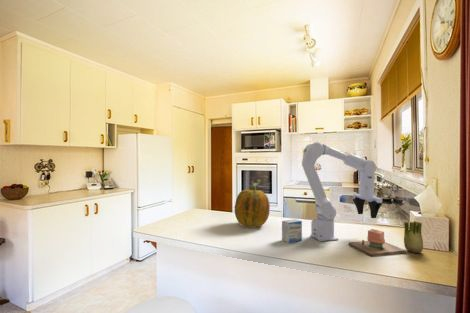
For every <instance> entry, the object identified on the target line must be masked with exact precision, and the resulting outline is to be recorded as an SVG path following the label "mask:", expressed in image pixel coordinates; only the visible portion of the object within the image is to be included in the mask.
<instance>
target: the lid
mask: <svg viewBox="0 0 470 313" xmlns="http://www.w3.org/2000/svg"><path fill="white" fill-rule="evenodd" d="M366 239H367V240H366V241H369V242H372V243H376V244H384V243H385V242H386V240H385V231H383V230H378V229H377V230H376V229H373V228H372V229H369V230H367V238H366Z"/></svg>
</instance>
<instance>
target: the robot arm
mask: <svg viewBox="0 0 470 313" xmlns="http://www.w3.org/2000/svg"><path fill="white" fill-rule="evenodd" d="M302 153H303V154H302V160H301V167H302V169H303V171H304V174H305V176H306V179H307V182H308V184H309V187H310V189H311V191H312V194H313V196H314V202H315V212H316V213H317V217H316V218H313V219H312V220H311V222H310V223H311V227H310V228H311V232H310V233H311V234H310V236H311V237H312V238H314V239H315V240H318V241H319V242H323V241H325V242H326V241H327V242H328V241H334V240H335V241H337V240H339V237H336V236H335V218H336V216H337V210H336V208H335V207H334V206H333V205H332V202H331V201H330V199H329V198H328V197H327V195H326V192H325V190H324V186H323V184H322V181H321V179H320V177H319V175H318V172H317V170H316V167H315V164H316V162H317V160H318V159H319V158H320V157H321V156H325V155H327V156H329V157H332V158H335V159H338V160H341V161H343V164H344V165H346V166H348V167H350V168H352V169H356V170H358V172H359V193H352V196H353V199H352V201H353V203H354V205H355V207H356V211H357V214H358V215H363V214H364V207H365V206H364V205H365V202H366V201H368V202H367V204H368V206H369V210H370V218H371V219H377V215H378V212H379V210H380V209H381V207H382V205H383V198H382V197H377V196H376V195H375V173H376V171H377V170H378V166H377V164H376V163H375V162H374V161H373V160H367V159H366V157H362V156H359V155H357V153H355V152H352V153H351V152H349V153H345V152H342V151H340V150H338V149H336V148H333V147H331V146H329V145H327V144H324V143H323V144H322V143H321V142H313V143H309V144H307V145H306V146H305V148H304V149H303V152H302Z"/></svg>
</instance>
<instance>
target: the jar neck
mask: <svg viewBox="0 0 470 313" xmlns="http://www.w3.org/2000/svg"><path fill="white" fill-rule="evenodd" d="M369 245H370V246H371V247H374V248H383V244H376V243H372V242H369Z"/></svg>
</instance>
